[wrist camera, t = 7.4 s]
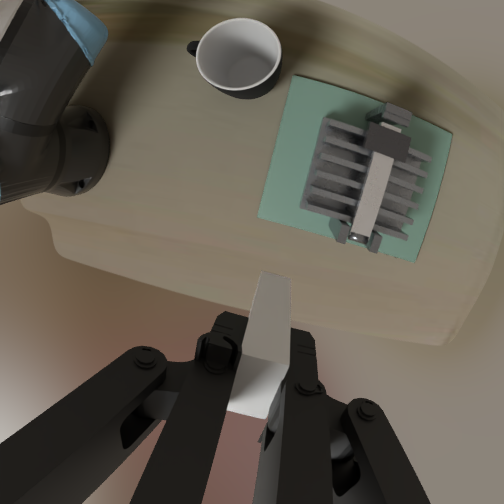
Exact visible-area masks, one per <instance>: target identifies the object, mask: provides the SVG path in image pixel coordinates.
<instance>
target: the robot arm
mask: <svg viewBox="0 0 504 504" xmlns="http://www.w3.org/2000/svg"><path fill="white" fill-rule="evenodd" d="M107 38H108V30H107V27H106V26H105V25H104V23H103V22H102V21H101V20H99V19H98V18H97V17H96V16H95V15H94V14H92V13H91V12H90V11H89V10H87V9H86V8H85V7H83V6H82V5H80V4H79V3H78V2H76V1H75V0H0V205H2V204H5V203H8V202H11V201H14V200H17V199H21V198H24V197H27V196H31V195H34V194H38V193H42V192H47V193H52V194H56V195H60V196H66V197H67V196H75V195H79V194H82V193H85V192H87V191H89V190H90V189H91V188H93V187H94V186H95V185H96V183H97V182H98V181H99V179H100V178H101V176H102V174H103V172H104V170H105V168H106V165H107V161H108V156H109V134H108V130H107V127H106V124H105V122H104V120H103V119H102V117H101V116H100V115H99V113H98V112H96V111H95V110H94V109H92V108H90V107H86V106H79V105H72V106H67V105H68V103H69V101H70V99H71V98H72V96H73V94H74V92H75V91H76V89H77V87H78V86H79V84H80V82H81V81H82V79H83V78H84V76H85V75H86V73H87V71H88V70H89V68H90V67H92V66H93V64H94V60H95V58H96V57H97V55H98V54H99V52H100V50H101V49H102V47H103V46H104V44H105V43H106V41H107ZM66 106H67V107H66ZM226 410H229V411H232V412H236V413H240V414H244V415H248V416H253V417H257V418H262V419H266V417H267V415H268V413H269V416H268V422H267V424H266V426H265V428H264V430H263V432H262V434H261V436H260V438H259V441H258V442H259V443H261V442H262V445H261V452H260V459H259V465H258V472H257V479H256V485H255V491H254V497H253V503H252V504H430V501H429V499H428V498H427V495H426V493H425V491H424V489H423V487H422V485H421V483H420V481H419V479H418V477H417V475H416V473H415V471H414V469H413V467H412V465H411V463H410V461H409V459H408V457H407V455H406V454H405V452H404V450H403V448H402V446H401V444H400V442H399V440H398V438H397V436H396V434H395V432H394V431H393V429H392V427H391V425H390V423H389V421H388V419H387V417H386V416H385V414H384V412H383V410H382V409H381V408H380V407H379V405H377V404H376V403H375V402H373V401H371V400H368V399H364V398H357V399H353V400H352V401H351V402H350V403H349V404H348V405H347V404H345V403H342V402H339V401H337V400H335V399H333V398H331V397H329V396H328V395H327V394H326V390H325V387H324V385H323V384H322V383H321V382H320V381H319V380H318V372H317V359H316V350H315V340H314V338H313V337H312V335H311V334H310V332H306V331H303V330H298V329H294V328H291V278H288V277H284V276H280V275H277V274H273V273H269V272H266V271H262V270H261V274H260V278H259V281H258V285H257V289H256V292H255V296H254V299H253V303H252V307H251V310H250V314H249V317H244V316H241V315H237V314H234V313H230V312H227V311H225V312H223V313H222V314H220V315H219V316H217V318H216V320H215V323H214V325H213V327H212V330H211V331H210V332H209V333H206V334H203V335H201V336H200V338H199V339H198V341H197V347H196V352H195V359H194V360H191V361H188V362H170V361H167V359H166V357H165V356H164V354H163V353H161V352H160V351H159V350H157V349H155V348H152V347H147V346H138V347H134V348H132V349H130V350H128V351H126V352H125V353H124V354H122V355H121V356H120V357H118V358H117V359H116V360H114V361H113V362H111V363H110V364H109V365H108V366H106V367H105V368H103V369H102V370H101V371H99V372H98V373H97V374H95V375H94V376H93V377H91V378H90V379H88V380H87V381H86V382H84V383H83V384H82V385H80V386H79V387H78V388H76V389H75V390H74V391H72V392H71V393H69V394H68V395H67V396H65V397H64V398H63V399H61V400H60V401H58V402H57V403H56V404H54V405H53V406H51V407H50V408H49V409H47V410H46V411H45V412H43V413H42V414H40V415H39V416H38V417H36V418H35V419H34V420H32V421H31V422H29V423H28V424H27V425H25V426H24V427H23V428H21V429H20V430H19V431H17V432H16V433H15V434H13V435H12V436H10V437H9V438H7V439H6V440H5V441H3V442H2V443H1V444H0V504H82V503H83V502H84V501H85V500H86V499H87V498H88V497H89V496H90V495H91V494H92V493H93V492H94V491H95V490H96V489H97V488H98V487H99V486H100V485H101V484H102V483H103V482H104V481H105V480H106V479H107V478H108V477H109V476H110V475H111V474H112V473H113V472H114V471H115V470H116V469H117V468H118V467H119V466H120V465H121V464H122V463H123V461H125V459H126V458H127V457H128V456H129V455H130V454H131V453H132V452H133V451H134V450H135V449H136V448H137V447H138V446H139V445H140V444H141V442H142V441H143V440H144V439H145V438H146V437H147V436H148V435H149V434H150V433H151V432H152V431H153V429H154V428H155V427H156V426H157V425H158V424H159V423H160V422H161V420H167V421H166V424H165V425H164V428H163V430H162V432H161V434H160V436H159V439H158V441H157V443H156V445H155V448H154V450H153V452H152V454H151V457H150V459H149V461H148V463H147V465H146V468H145V470H144V472H143V474H142V477H141V479H140V481H139V483H138V486H137V488H136V490H135V492H134V495H133V497H132V499H131V501H130V504H201V503H202V499H203V495H204V492H205V489H206V485H207V481H208V478H209V474H210V470H211V467H212V463H213V459H214V455H215V452H216V448H217V444H218V440H219V437H220V433H221V429H222V425H223V422H224V418H225V414H226Z"/></svg>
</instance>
